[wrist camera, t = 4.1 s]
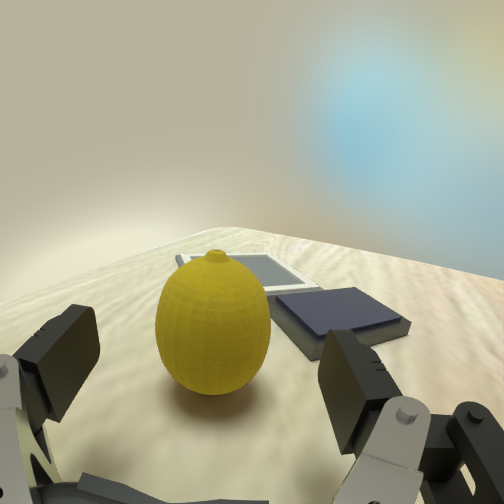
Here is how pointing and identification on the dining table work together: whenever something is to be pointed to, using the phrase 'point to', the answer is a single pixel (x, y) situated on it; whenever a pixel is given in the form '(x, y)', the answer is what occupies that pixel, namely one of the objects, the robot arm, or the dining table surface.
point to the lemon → (213, 324)
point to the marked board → (267, 272)
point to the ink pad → (334, 318)
